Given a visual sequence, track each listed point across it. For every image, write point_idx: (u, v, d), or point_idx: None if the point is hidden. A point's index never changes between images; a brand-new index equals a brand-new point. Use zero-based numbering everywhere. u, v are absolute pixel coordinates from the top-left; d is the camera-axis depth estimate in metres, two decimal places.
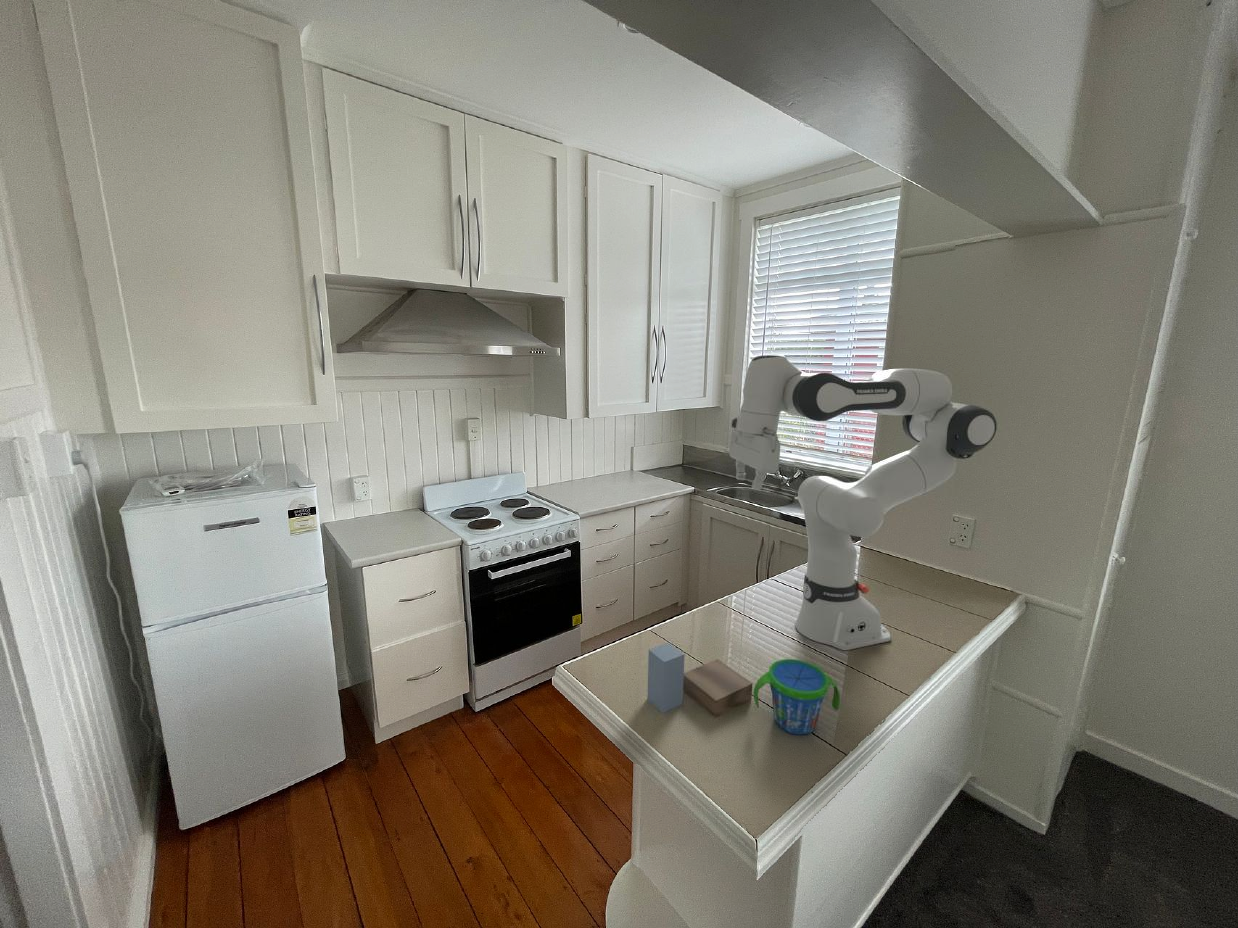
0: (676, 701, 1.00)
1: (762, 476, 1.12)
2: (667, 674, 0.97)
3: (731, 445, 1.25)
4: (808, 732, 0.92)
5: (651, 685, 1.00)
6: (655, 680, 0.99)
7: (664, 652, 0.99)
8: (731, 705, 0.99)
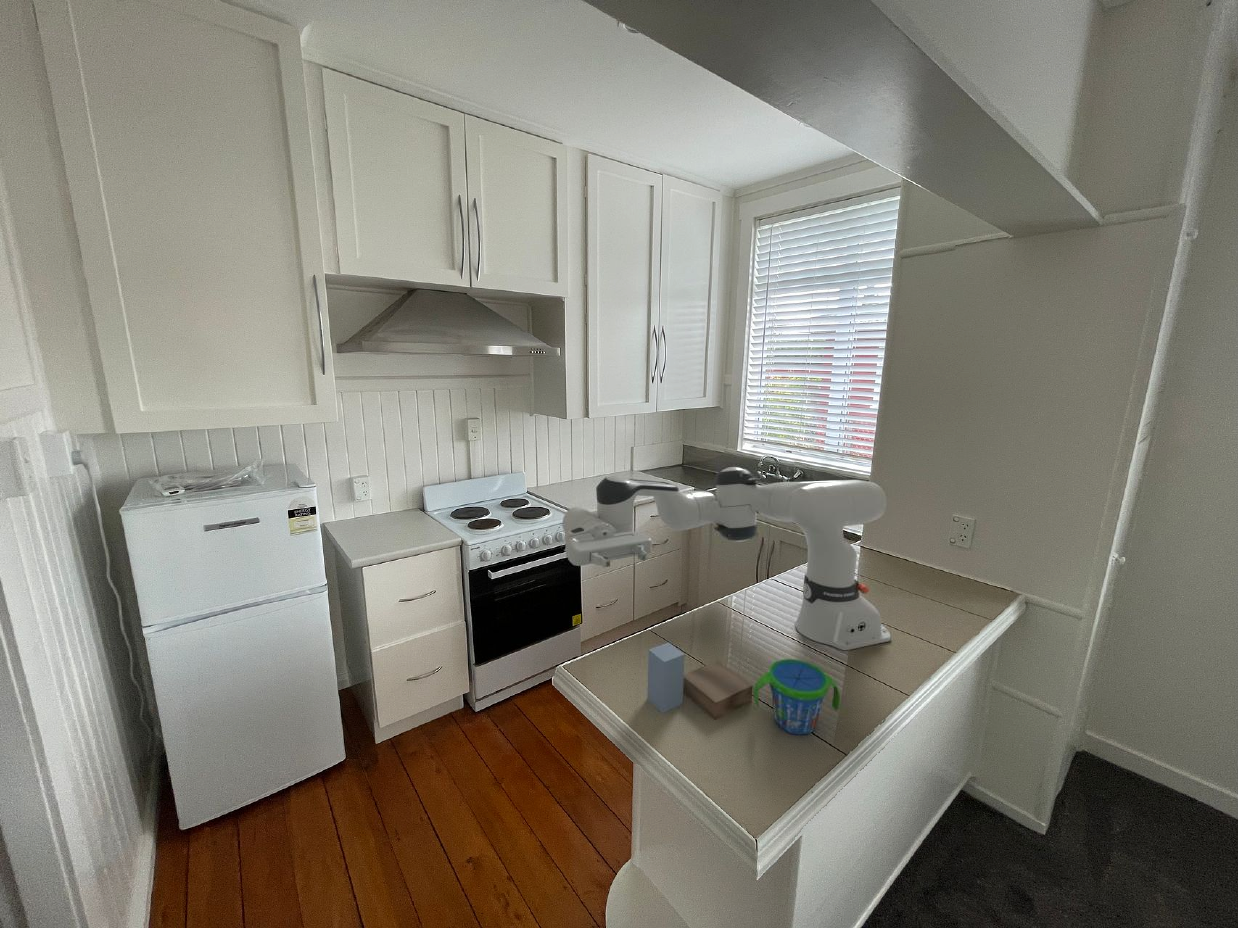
0: (676, 701, 1.00)
1: None
2: (667, 674, 0.97)
3: (576, 545, 1.13)
4: (808, 732, 0.92)
5: (651, 685, 1.00)
6: (655, 680, 0.99)
7: (664, 652, 0.99)
8: (731, 707, 0.99)
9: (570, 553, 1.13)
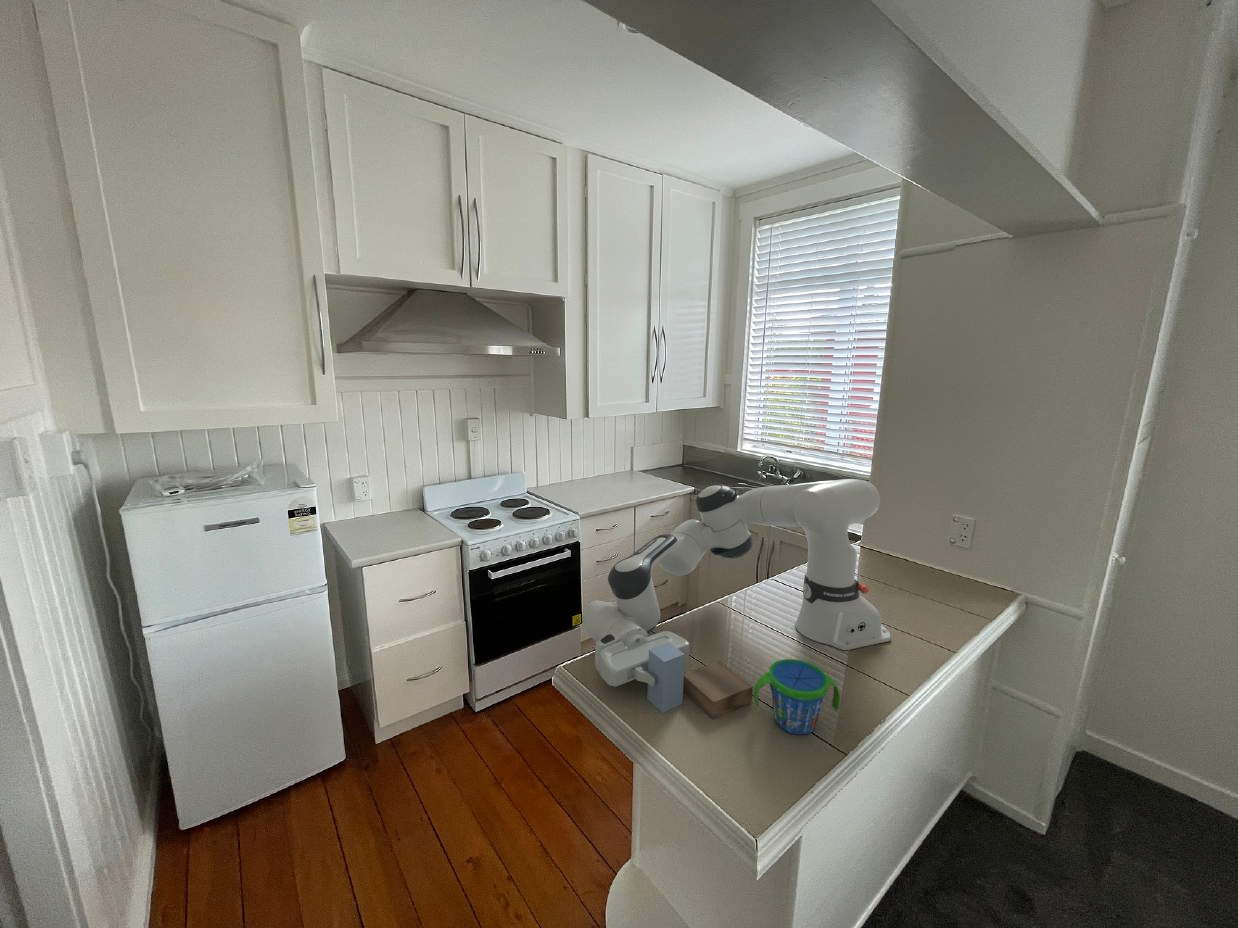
0: (676, 701, 1.00)
1: None
2: (667, 674, 0.97)
3: (610, 661, 1.01)
4: (808, 732, 0.92)
5: None
6: None
7: (664, 652, 0.99)
8: (730, 707, 0.98)
9: (604, 671, 1.01)
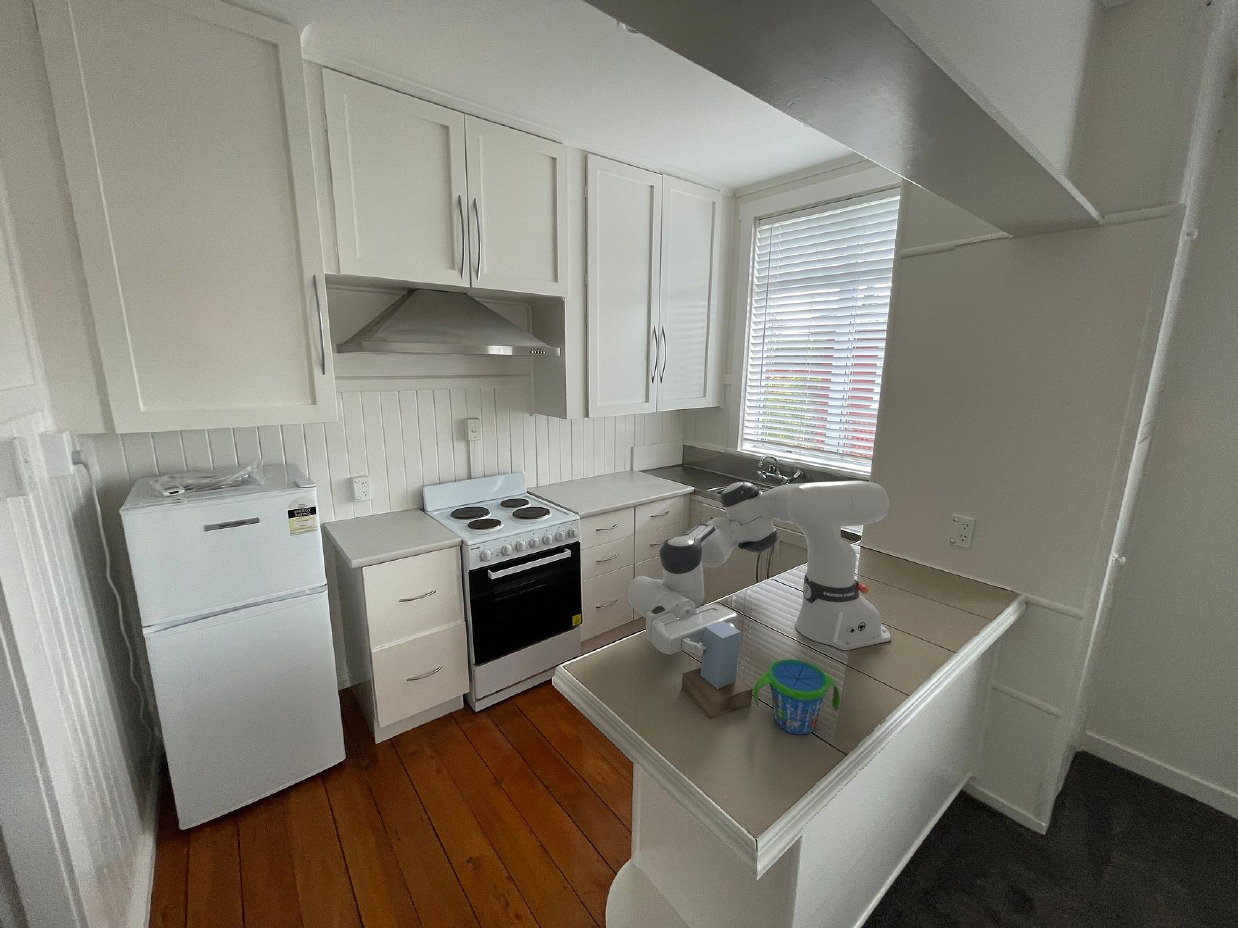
0: (730, 678, 1.01)
1: None
2: (724, 651, 0.98)
3: (664, 631, 1.02)
4: (808, 732, 0.92)
5: (706, 661, 1.02)
6: (710, 656, 1.01)
7: (720, 630, 1.00)
8: (729, 708, 0.98)
9: (658, 640, 1.02)
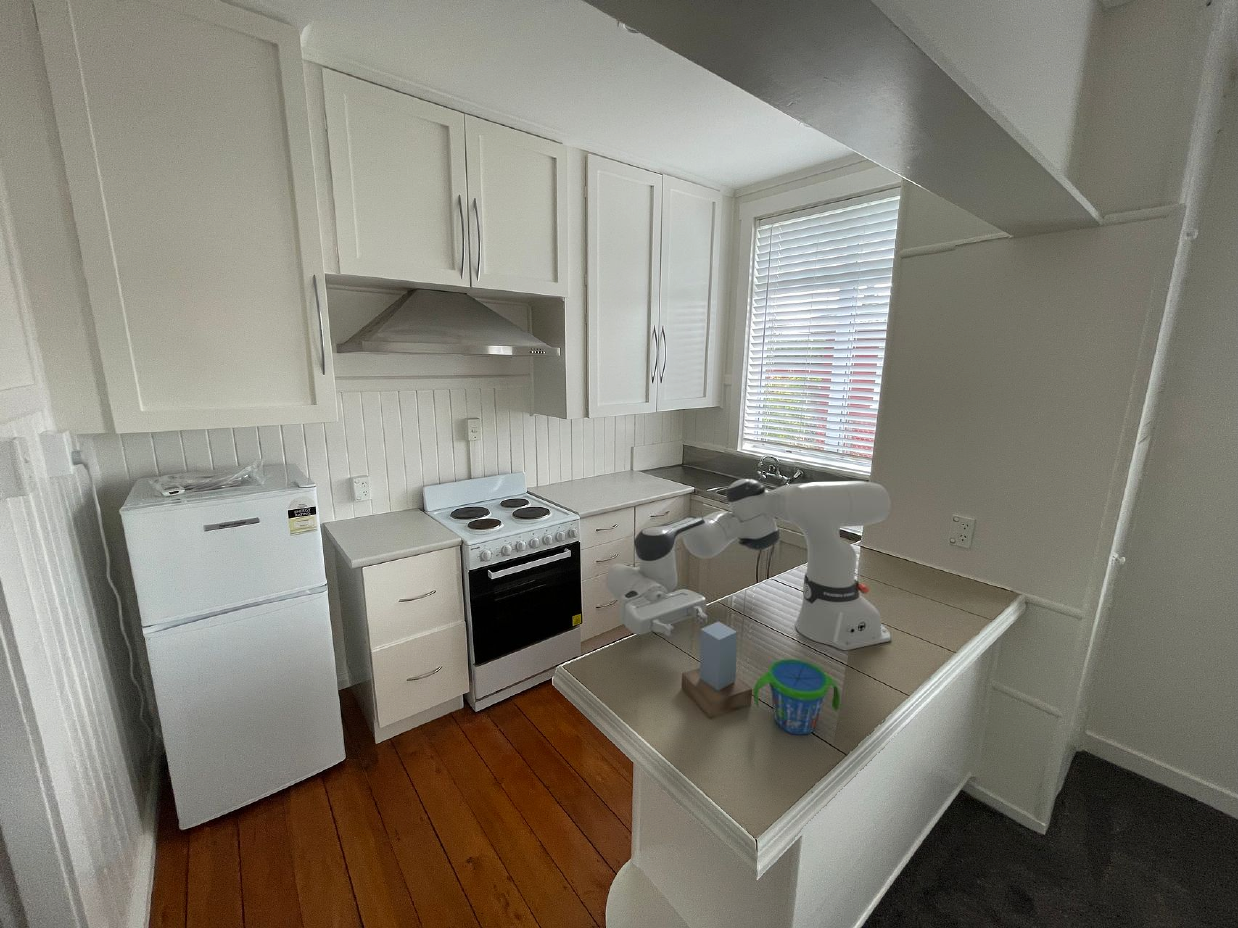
0: (729, 679, 1.01)
1: None
2: (722, 652, 0.98)
3: (635, 613, 1.10)
4: (808, 732, 0.92)
5: (705, 663, 1.01)
6: (708, 658, 1.00)
7: (717, 631, 1.00)
8: (728, 708, 0.98)
9: (629, 621, 1.10)
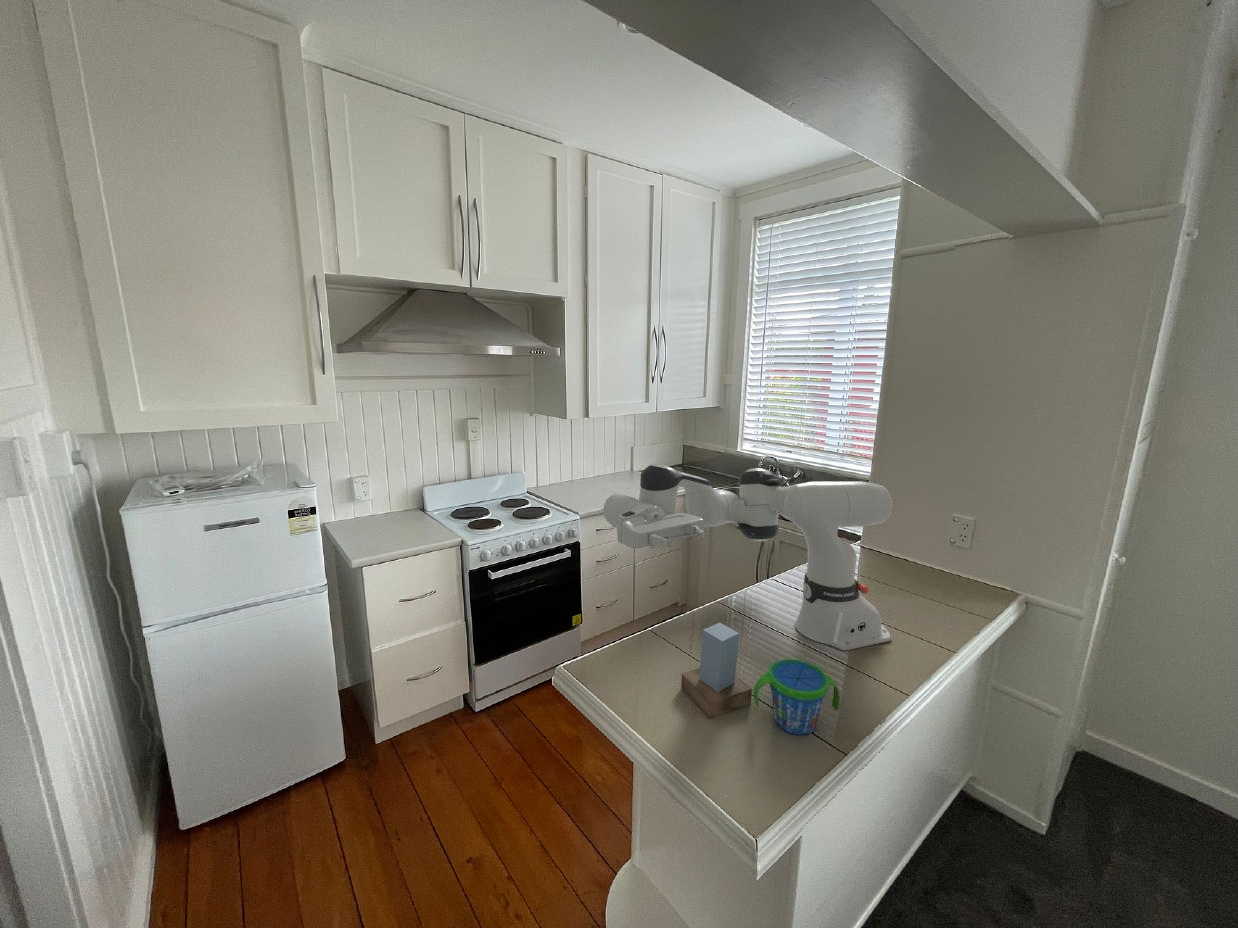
0: (729, 680, 1.01)
1: None
2: (724, 653, 0.98)
3: (632, 528, 1.10)
4: (808, 732, 0.92)
5: (705, 664, 1.01)
6: (709, 659, 1.00)
7: (719, 632, 0.99)
8: (728, 708, 0.98)
9: (626, 536, 1.10)
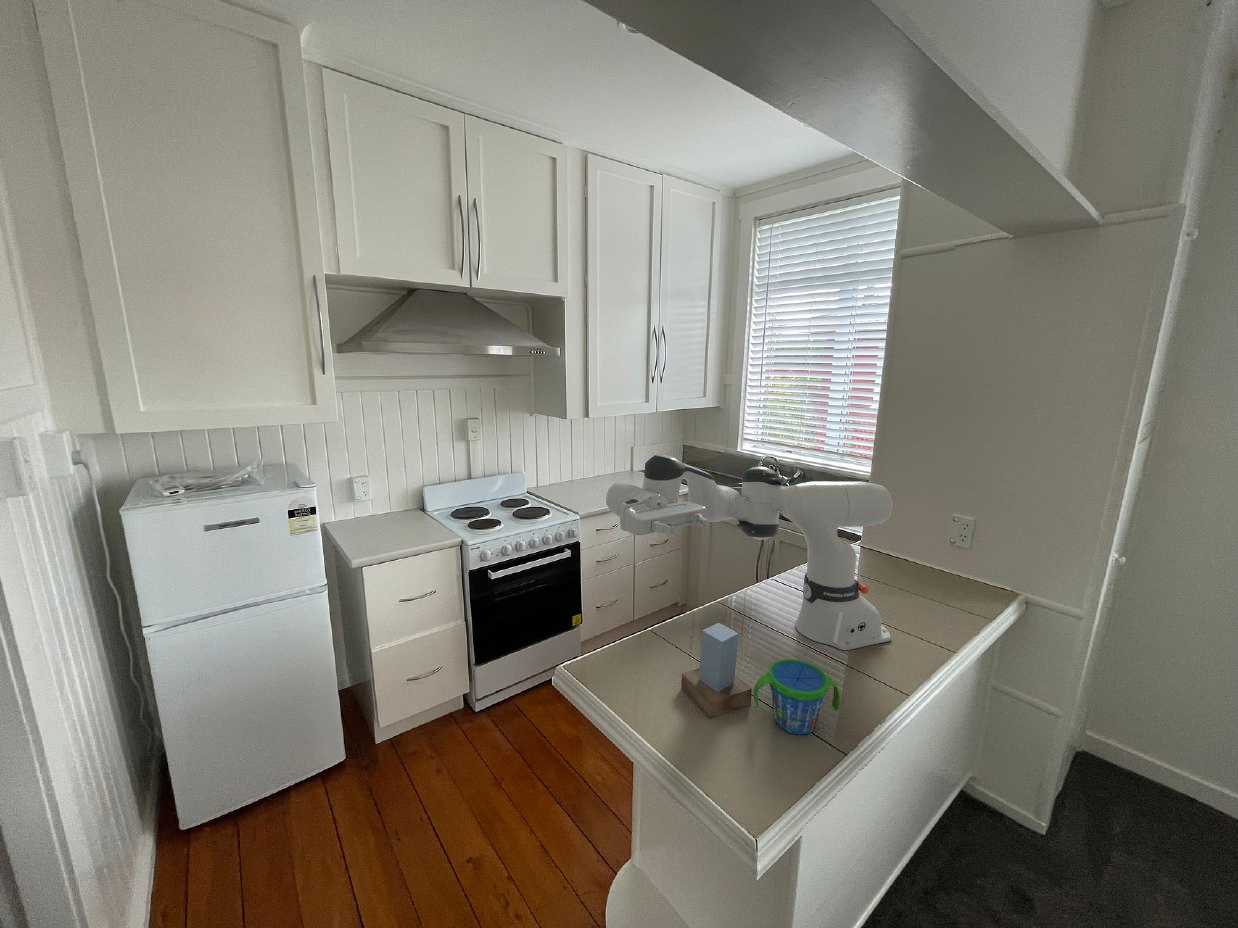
0: (729, 680, 1.01)
1: None
2: (723, 654, 0.98)
3: (635, 515, 1.10)
4: (808, 732, 0.92)
5: (705, 665, 1.01)
6: (709, 660, 1.00)
7: (718, 633, 0.99)
8: (728, 708, 0.98)
9: (630, 523, 1.10)
